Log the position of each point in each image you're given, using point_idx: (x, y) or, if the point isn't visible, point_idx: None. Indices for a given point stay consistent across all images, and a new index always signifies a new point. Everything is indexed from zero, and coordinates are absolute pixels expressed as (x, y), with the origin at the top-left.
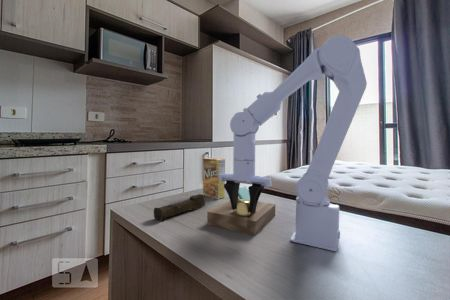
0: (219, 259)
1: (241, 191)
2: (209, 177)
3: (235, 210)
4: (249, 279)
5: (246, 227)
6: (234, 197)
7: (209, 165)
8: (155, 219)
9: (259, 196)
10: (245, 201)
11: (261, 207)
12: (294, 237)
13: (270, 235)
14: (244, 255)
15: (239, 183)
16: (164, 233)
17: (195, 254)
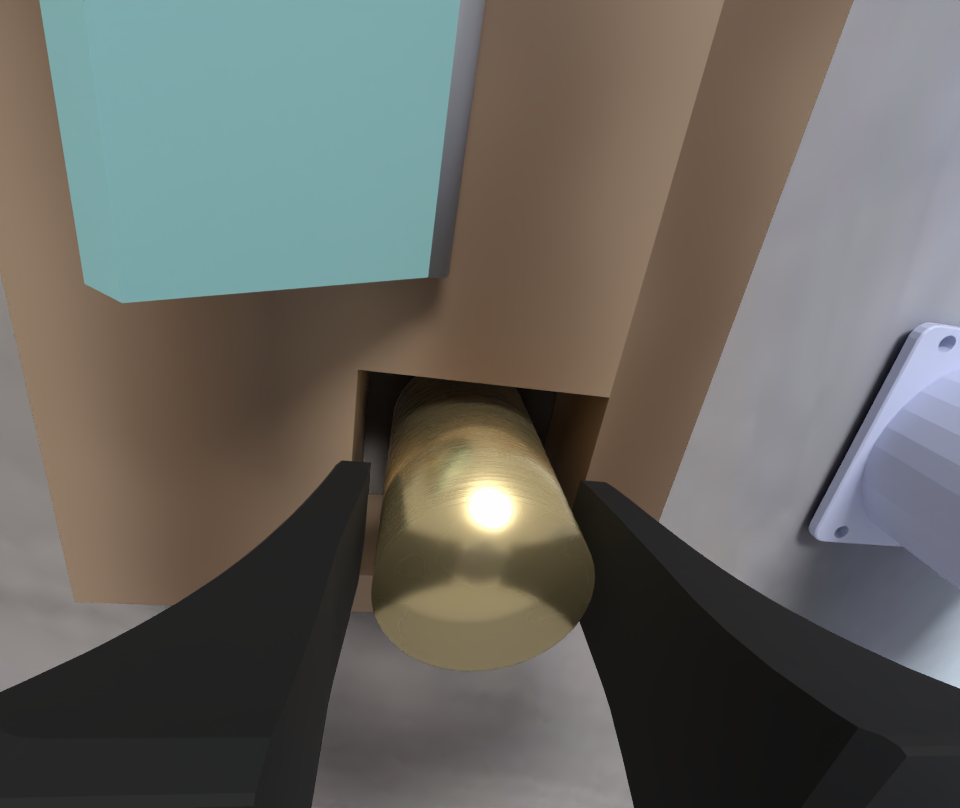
0: (469, 770)
1: (213, 116)
2: None
3: (348, 454)
4: (609, 801)
5: None
6: (331, 651)
7: None
8: None
9: (756, 598)
10: (512, 597)
11: (652, 198)
12: (845, 509)
13: (684, 496)
14: (564, 716)
15: (278, 749)
16: None
17: (351, 784)
